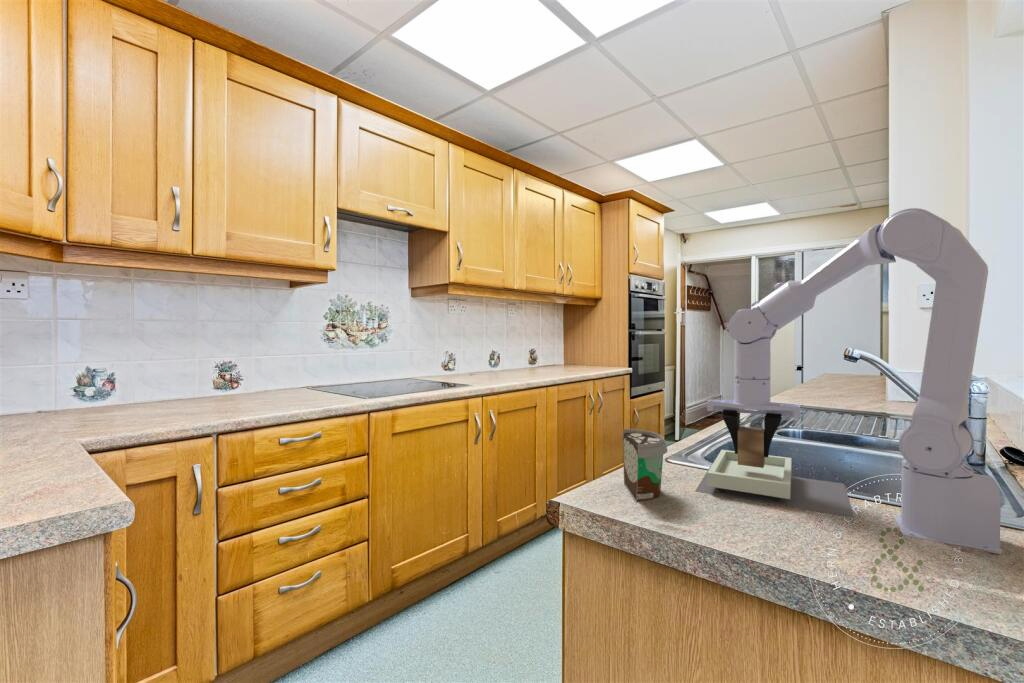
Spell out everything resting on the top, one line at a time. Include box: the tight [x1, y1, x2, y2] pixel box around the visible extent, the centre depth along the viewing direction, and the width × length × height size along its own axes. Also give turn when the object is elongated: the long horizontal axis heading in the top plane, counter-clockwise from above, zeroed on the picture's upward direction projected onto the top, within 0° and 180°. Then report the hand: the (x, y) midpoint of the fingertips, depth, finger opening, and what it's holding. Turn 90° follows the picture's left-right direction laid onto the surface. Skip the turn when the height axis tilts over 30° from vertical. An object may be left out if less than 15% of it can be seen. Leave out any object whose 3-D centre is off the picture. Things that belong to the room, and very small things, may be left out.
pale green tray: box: [706, 449, 792, 501], centre depth 82 cm, size 12×17×4 cm
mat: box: [694, 465, 855, 519], centre depth 81 cm, size 22×17×1 cm
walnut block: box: [738, 426, 765, 468], centre depth 82 cm, size 4×4×6 cm
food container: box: [621, 428, 668, 504], centre depth 80 cm, size 12×6×10 cm, turn 179°
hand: (751, 454), depth 82 cm, fingers closed on walnut block, 4 cm apart
